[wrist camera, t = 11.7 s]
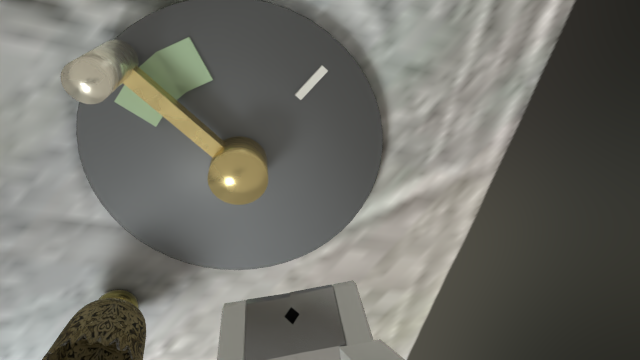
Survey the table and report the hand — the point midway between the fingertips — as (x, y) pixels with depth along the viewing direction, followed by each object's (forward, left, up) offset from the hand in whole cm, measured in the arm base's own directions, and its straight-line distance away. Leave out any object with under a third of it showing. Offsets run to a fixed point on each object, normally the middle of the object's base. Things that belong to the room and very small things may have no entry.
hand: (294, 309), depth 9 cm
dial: (-7, -3, -23) cm, 24 cm away
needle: (-7, +2, -22) cm, 23 cm away
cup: (-27, -4, -23) cm, 36 cm away
